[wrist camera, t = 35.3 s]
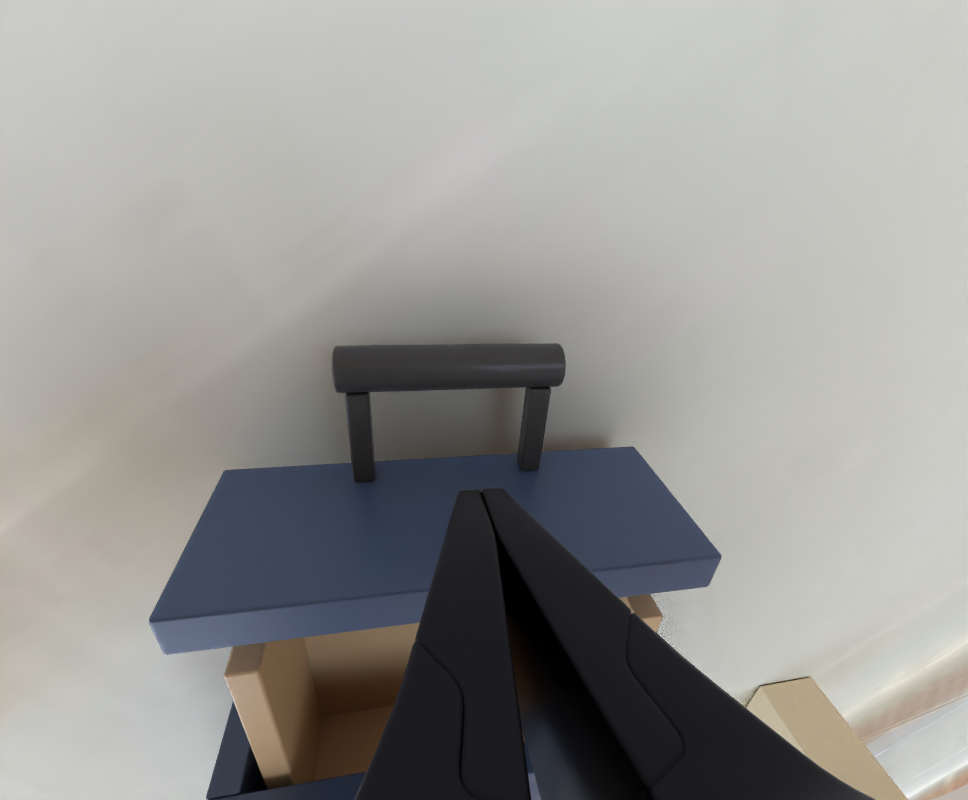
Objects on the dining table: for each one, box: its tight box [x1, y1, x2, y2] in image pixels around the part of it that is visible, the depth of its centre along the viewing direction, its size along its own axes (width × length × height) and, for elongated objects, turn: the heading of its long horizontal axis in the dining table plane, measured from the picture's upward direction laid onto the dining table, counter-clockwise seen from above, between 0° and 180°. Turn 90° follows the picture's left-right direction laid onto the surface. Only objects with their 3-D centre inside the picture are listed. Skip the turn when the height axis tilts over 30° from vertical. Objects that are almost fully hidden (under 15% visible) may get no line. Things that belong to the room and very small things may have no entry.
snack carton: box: [746, 677, 908, 800], centre depth 27 cm, size 4×4×9 cm
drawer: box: [149, 343, 721, 790], centre depth 14 cm, size 17×13×5 cm
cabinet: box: [206, 701, 541, 800], centre depth 19 cm, size 14×14×7 cm
